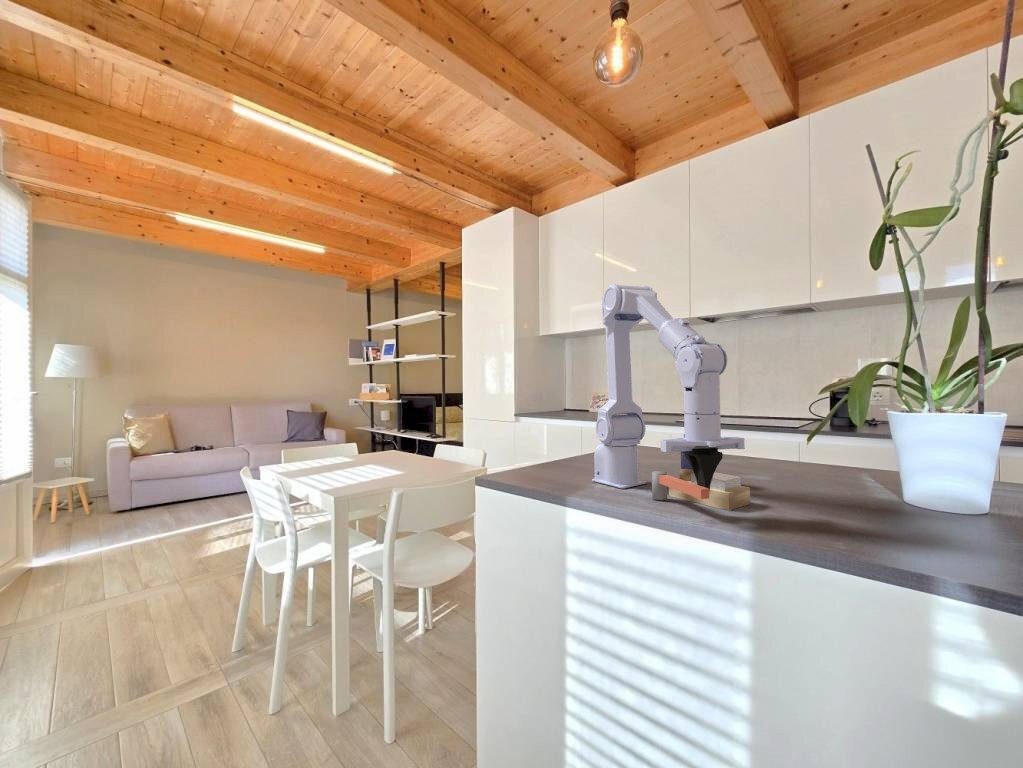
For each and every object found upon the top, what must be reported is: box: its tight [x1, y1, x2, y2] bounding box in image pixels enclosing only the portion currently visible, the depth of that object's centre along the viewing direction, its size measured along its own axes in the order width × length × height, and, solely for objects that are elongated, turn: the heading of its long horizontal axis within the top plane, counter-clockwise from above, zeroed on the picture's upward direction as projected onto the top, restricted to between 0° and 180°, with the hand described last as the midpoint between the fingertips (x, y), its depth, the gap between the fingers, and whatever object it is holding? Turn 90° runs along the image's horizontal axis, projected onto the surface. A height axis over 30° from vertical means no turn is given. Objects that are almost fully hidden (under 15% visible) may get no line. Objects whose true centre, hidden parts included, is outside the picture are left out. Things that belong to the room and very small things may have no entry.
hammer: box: [651, 470, 709, 501], centre depth 80 cm, size 14×3×5 cm, turn 15°
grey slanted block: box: [691, 471, 742, 492], centre depth 83 cm, size 7×5×2 cm
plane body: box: [668, 468, 751, 511], centre depth 85 cm, size 12×7×5 cm, turn 33°
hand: (703, 492), depth 75 cm, fingers closed
